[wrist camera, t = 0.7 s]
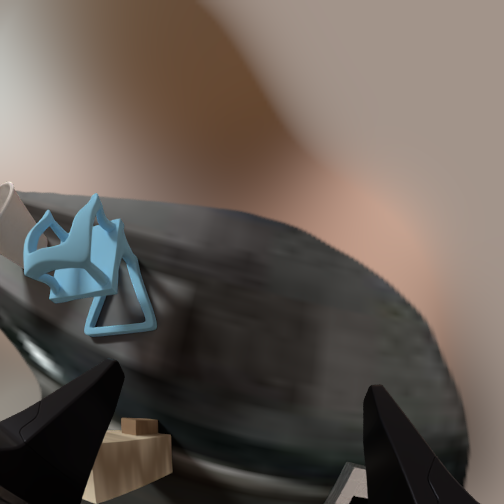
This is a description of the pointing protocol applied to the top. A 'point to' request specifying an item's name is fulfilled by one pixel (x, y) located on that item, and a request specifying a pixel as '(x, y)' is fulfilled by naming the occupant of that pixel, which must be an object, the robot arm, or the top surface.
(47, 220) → the chair
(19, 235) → the dixie cup
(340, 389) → the top surface
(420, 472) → the robot arm
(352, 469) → the socket plate
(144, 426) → the keyed post
